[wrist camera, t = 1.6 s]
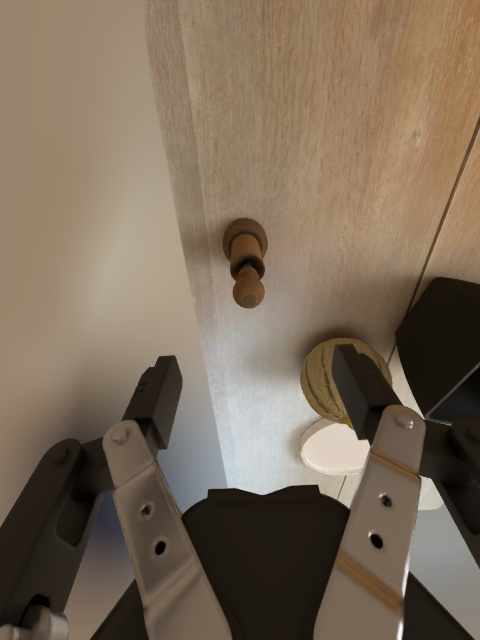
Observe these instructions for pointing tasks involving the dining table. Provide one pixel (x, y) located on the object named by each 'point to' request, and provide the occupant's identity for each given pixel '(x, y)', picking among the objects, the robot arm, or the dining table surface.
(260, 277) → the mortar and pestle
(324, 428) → the plate
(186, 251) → the dining table surface
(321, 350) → the cantaloupe
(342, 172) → the dining table surface
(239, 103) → the dining table surface
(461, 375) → the flower pot
